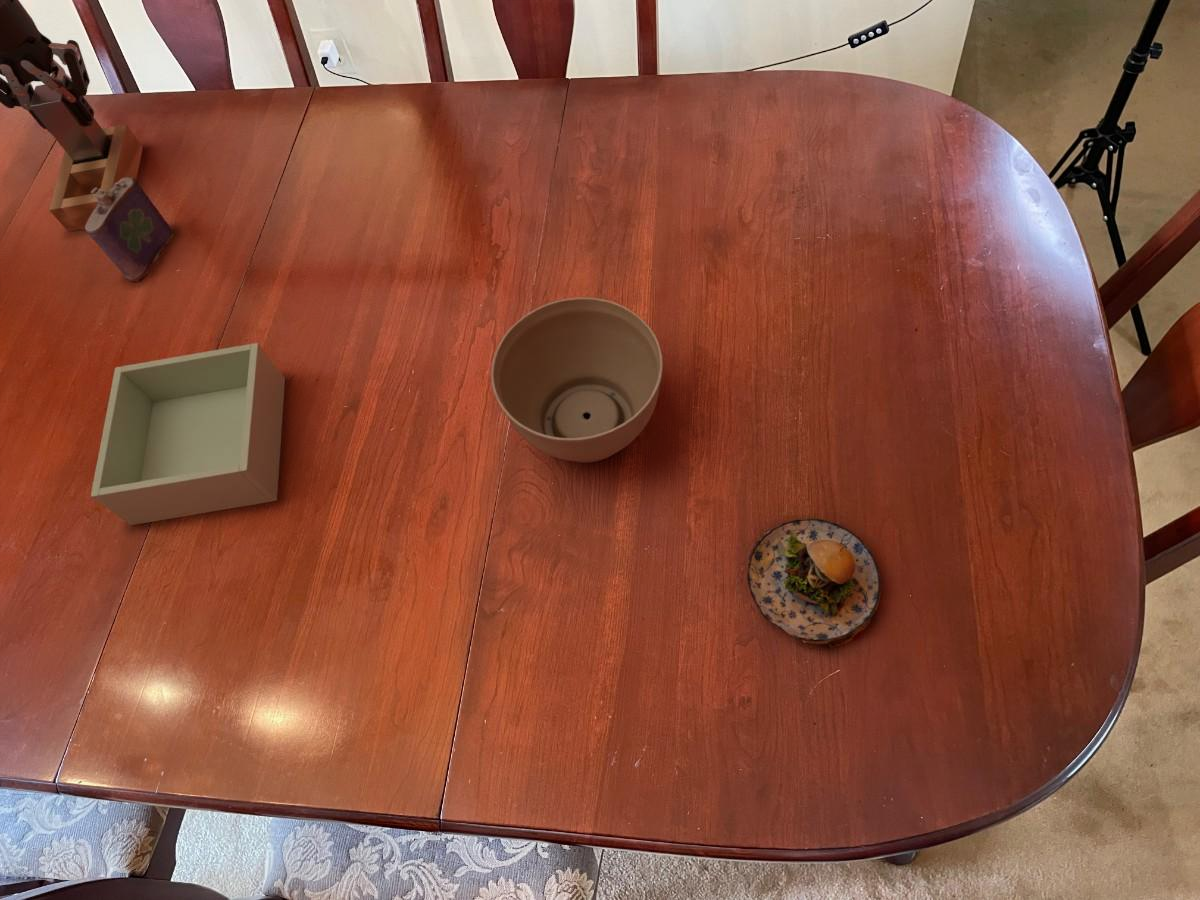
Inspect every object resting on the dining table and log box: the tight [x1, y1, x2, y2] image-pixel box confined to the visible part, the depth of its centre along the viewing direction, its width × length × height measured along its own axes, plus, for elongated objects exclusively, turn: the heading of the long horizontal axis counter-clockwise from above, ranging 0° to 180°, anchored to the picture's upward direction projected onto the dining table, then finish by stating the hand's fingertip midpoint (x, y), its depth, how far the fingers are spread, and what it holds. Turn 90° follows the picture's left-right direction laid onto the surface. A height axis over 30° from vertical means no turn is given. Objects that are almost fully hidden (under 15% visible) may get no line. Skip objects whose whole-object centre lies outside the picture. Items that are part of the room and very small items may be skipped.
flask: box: [84, 177, 174, 283], centre depth 103 cm, size 9×3×11 cm, turn 163°
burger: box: [746, 517, 882, 649], centre depth 74 cm, size 12×12×8 cm
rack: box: [48, 123, 144, 233], centre depth 113 cm, size 8×14×4 cm, turn 8°
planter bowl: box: [490, 296, 664, 463], centre depth 84 cm, size 16×16×11 cm
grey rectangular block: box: [29, 83, 111, 164], centre depth 110 cm, size 4×4×10 cm
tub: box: [90, 342, 286, 526], centre depth 89 cm, size 16×16×7 cm
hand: (72, 124), depth 110 cm, fingers closed on grey rectangular block, 4 cm apart
